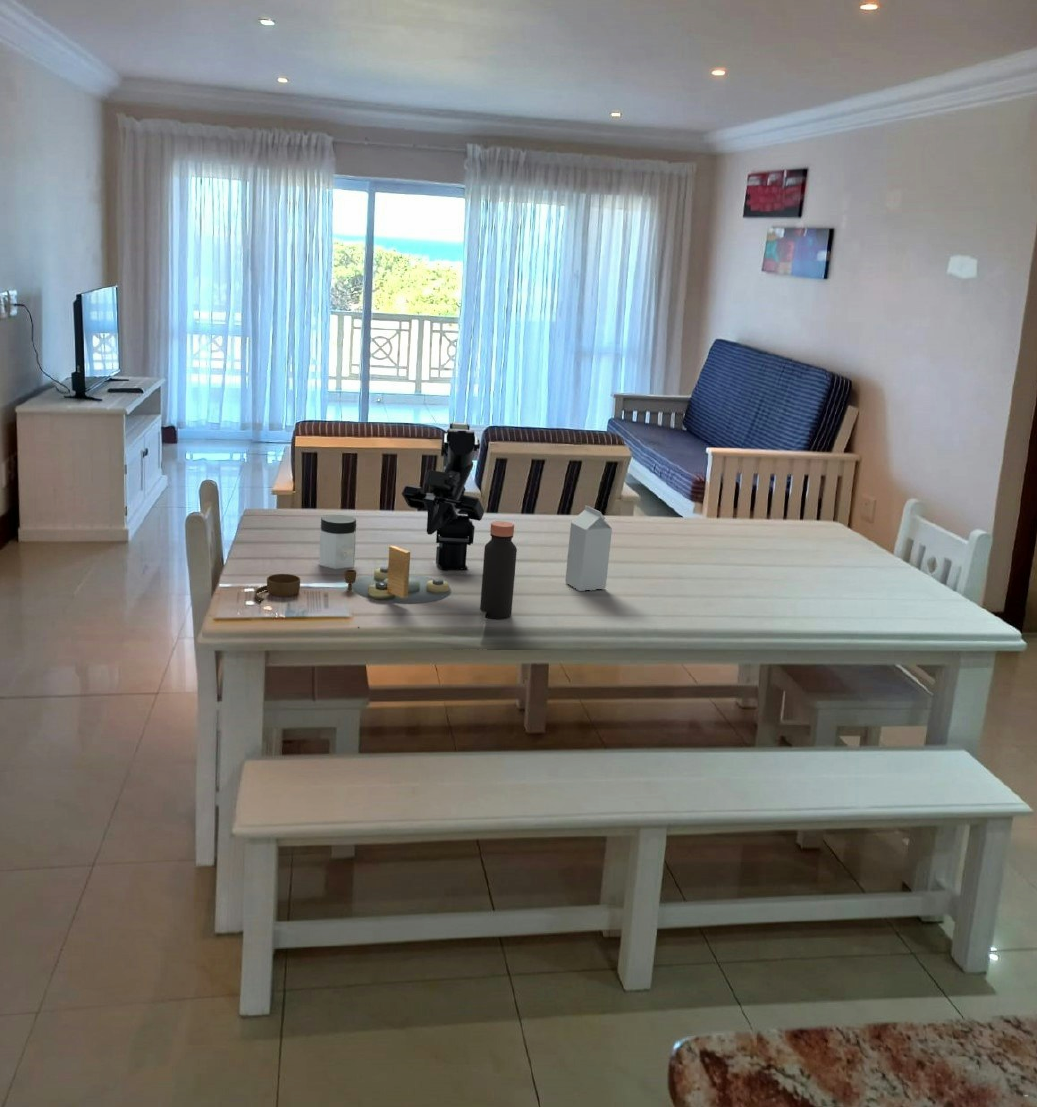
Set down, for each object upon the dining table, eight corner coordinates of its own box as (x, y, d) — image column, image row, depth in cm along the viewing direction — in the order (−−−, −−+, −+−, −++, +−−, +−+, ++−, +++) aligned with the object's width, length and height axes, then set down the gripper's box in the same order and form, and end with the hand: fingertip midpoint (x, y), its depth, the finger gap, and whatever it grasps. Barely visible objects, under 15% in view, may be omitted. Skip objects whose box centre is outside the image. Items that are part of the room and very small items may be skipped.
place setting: (269, 585, 241) (270, 559, 239) (357, 594, 239) (359, 569, 238) (242, 609, 224) (242, 582, 223) (336, 619, 223) (337, 592, 221)
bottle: (489, 621, 228) (497, 528, 222) (473, 611, 233) (480, 520, 228) (517, 617, 231) (524, 526, 226) (500, 608, 237) (508, 519, 231)
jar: (326, 574, 250) (328, 524, 247) (312, 565, 256) (313, 515, 253) (361, 571, 255) (363, 521, 252) (347, 562, 261) (349, 513, 258)
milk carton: (579, 592, 253) (587, 512, 248) (564, 583, 259) (572, 505, 254) (605, 590, 256) (614, 511, 251) (590, 581, 262) (598, 504, 257)
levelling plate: (436, 577, 255) (437, 563, 254) (462, 607, 235) (463, 592, 234) (343, 579, 248) (343, 565, 247) (361, 610, 228) (361, 594, 227)
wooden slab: (361, 593, 234) (364, 541, 231) (383, 589, 238) (386, 538, 235) (393, 607, 226) (396, 554, 223) (416, 603, 231) (419, 550, 227)
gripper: (407, 449, 245) (380, 506, 238) (482, 462, 238) (455, 520, 231) (422, 478, 254) (396, 533, 248) (494, 491, 247) (469, 548, 241)
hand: (428, 533), depth 242 cm, fingers closed
